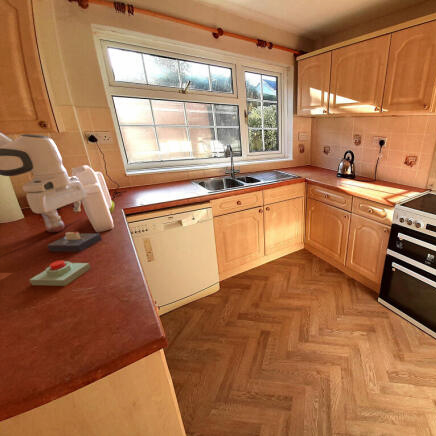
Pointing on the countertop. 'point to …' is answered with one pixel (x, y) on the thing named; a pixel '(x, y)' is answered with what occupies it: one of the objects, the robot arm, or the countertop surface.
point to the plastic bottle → (52, 223)
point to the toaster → (95, 198)
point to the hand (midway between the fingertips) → (68, 216)
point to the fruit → (111, 207)
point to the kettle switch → (57, 265)
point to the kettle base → (60, 274)
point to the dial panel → (74, 243)
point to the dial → (72, 235)
